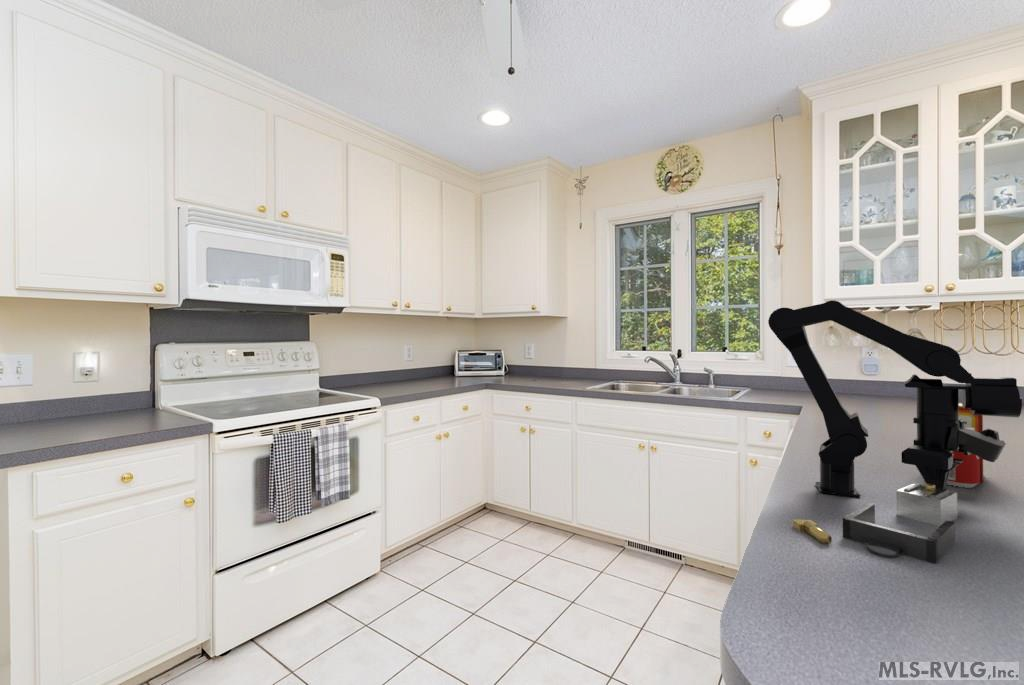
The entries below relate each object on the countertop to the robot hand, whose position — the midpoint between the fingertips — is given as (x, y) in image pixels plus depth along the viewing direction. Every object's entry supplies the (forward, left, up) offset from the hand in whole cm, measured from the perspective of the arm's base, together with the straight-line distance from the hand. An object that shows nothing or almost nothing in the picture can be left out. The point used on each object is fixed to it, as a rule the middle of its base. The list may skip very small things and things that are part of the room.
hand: (937, 497), depth 86 cm
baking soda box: (-25, +11, -2) cm, 28 cm away
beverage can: (-17, +9, -2) cm, 19 cm away
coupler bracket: (+22, -12, -2) cm, 25 cm away
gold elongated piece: (+24, -23, -2) cm, 33 cm away
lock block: (+7, -4, -2) cm, 8 cm away
